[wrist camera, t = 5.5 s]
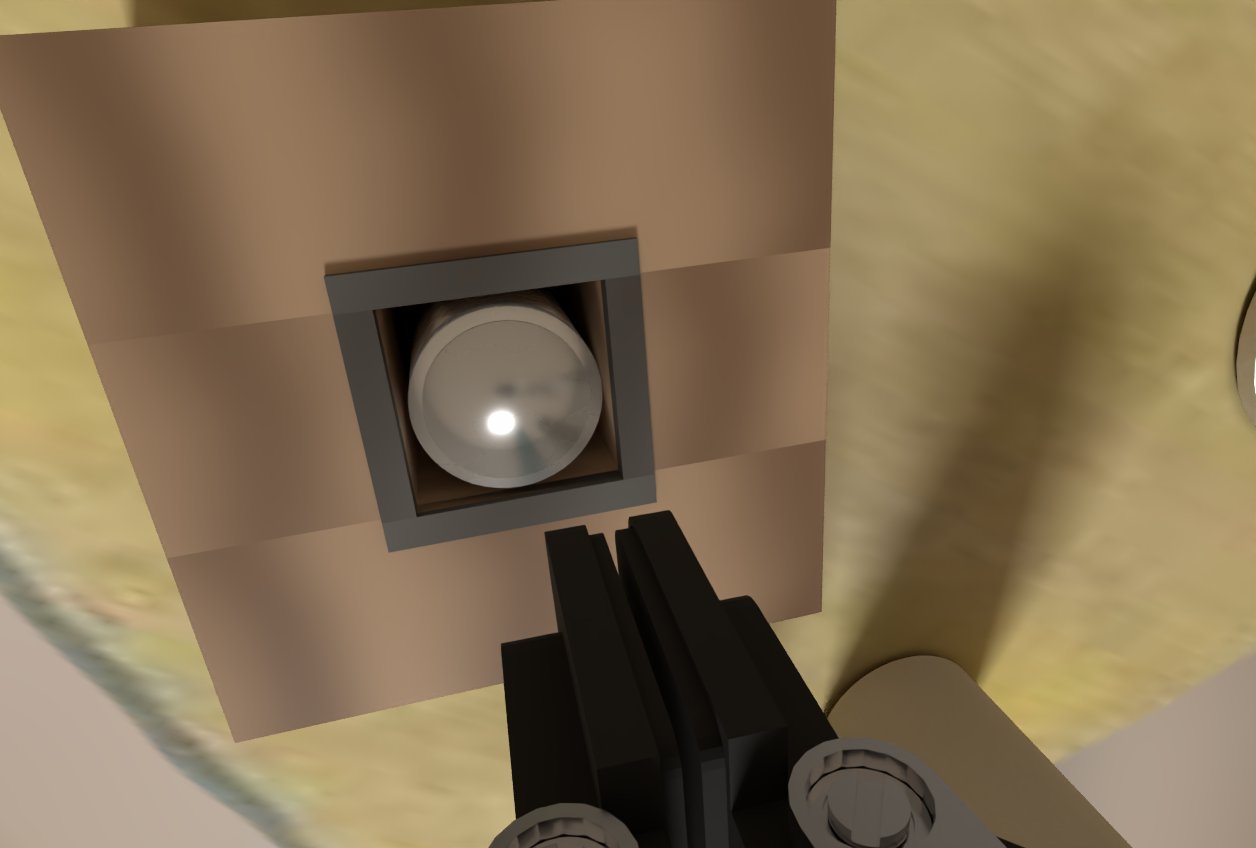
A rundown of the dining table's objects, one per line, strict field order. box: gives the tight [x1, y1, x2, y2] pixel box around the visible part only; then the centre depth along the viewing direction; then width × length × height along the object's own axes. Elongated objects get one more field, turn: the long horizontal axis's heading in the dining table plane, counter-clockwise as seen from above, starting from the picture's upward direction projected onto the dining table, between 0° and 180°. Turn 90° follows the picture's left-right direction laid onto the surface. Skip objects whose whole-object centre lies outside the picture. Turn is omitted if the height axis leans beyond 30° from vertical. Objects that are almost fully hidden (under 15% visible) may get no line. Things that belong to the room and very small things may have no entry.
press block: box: [0, 0, 836, 743], centre depth 21 cm, size 16×16×8 cm
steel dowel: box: [408, 287, 602, 488], centre depth 21 cm, size 4×4×8 cm
